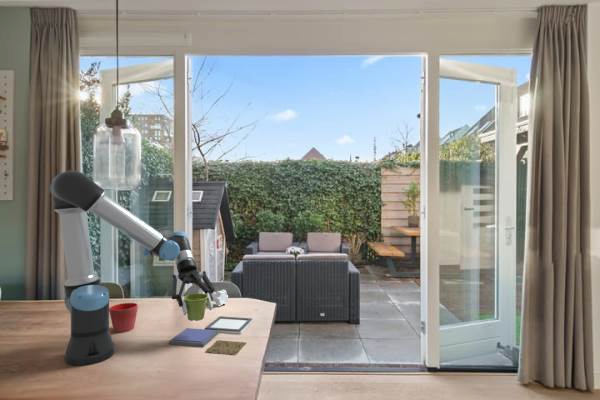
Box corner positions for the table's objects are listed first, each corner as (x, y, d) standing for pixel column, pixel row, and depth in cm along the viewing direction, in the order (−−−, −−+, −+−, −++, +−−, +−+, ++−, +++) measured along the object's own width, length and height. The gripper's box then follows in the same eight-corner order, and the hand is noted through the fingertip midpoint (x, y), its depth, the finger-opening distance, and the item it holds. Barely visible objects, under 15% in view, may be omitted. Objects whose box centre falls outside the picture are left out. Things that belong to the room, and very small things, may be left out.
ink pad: (203, 346, 138) (203, 342, 138) (168, 344, 141) (168, 340, 141) (218, 333, 152) (218, 329, 152) (186, 331, 155) (186, 327, 155)
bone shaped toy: (228, 305, 194) (229, 289, 195) (217, 307, 187) (218, 291, 187) (206, 301, 201) (207, 286, 202) (195, 303, 194) (196, 287, 195)
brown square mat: (247, 343, 143) (247, 341, 143) (235, 356, 131) (235, 354, 131) (217, 341, 145) (217, 338, 145) (203, 354, 133) (203, 351, 133)
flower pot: (105, 329, 157) (105, 306, 156) (131, 323, 165) (131, 301, 164) (115, 336, 149) (115, 311, 149) (142, 328, 157) (142, 305, 157)
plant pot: (213, 318, 147) (212, 296, 147) (191, 324, 140) (191, 301, 140) (200, 313, 154) (199, 292, 153) (178, 319, 147) (178, 296, 147)
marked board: (240, 334, 151) (240, 330, 151) (203, 331, 154) (203, 328, 154) (253, 321, 167) (253, 318, 167) (219, 318, 170) (219, 316, 170)
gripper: (208, 266, 166) (223, 310, 153) (156, 272, 153) (167, 321, 140) (213, 255, 161) (228, 300, 148) (159, 260, 149) (171, 310, 136)
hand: (198, 310), depth 144 cm, fingers closed on plant pot, 9 cm apart
